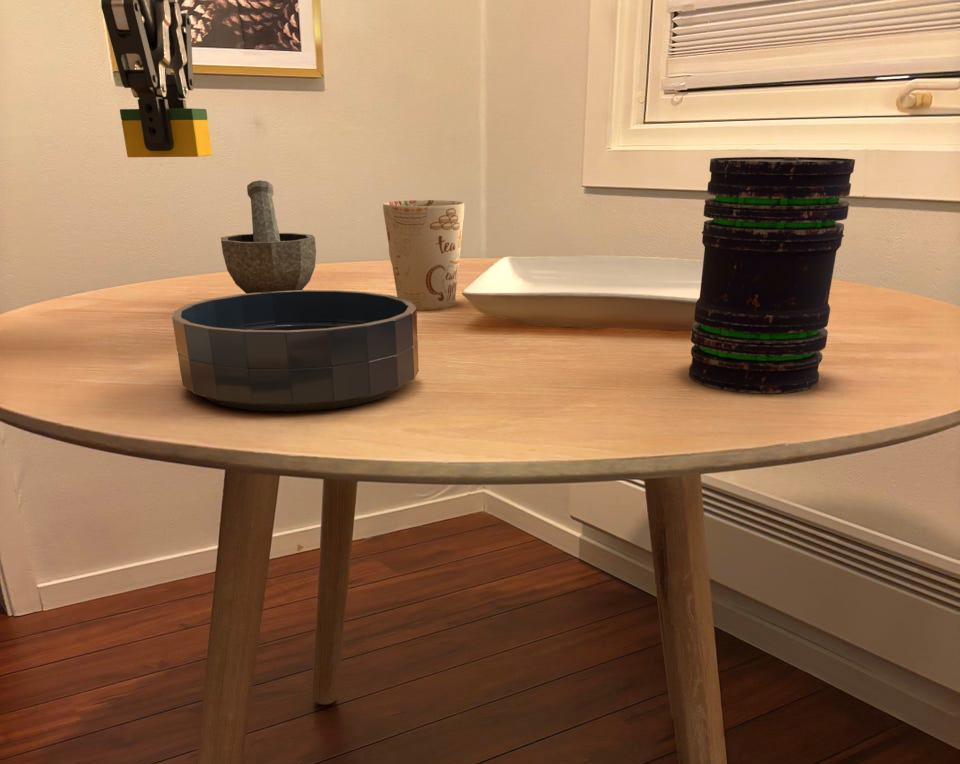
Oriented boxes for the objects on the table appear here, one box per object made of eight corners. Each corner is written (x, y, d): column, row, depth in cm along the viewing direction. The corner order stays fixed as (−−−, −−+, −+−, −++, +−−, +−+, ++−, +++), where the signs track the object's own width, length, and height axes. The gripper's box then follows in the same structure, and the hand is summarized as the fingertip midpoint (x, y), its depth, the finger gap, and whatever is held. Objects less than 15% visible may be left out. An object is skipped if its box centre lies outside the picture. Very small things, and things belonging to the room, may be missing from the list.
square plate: (459, 331, 89) (458, 288, 87) (504, 287, 112) (504, 252, 110) (756, 341, 84) (762, 295, 82) (738, 292, 108) (742, 256, 106)
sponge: (127, 157, 79) (119, 109, 77) (144, 155, 82) (137, 109, 80) (198, 156, 78) (191, 108, 77) (212, 155, 82) (206, 109, 80)
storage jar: (803, 400, 66) (841, 162, 59) (669, 384, 71) (690, 160, 64) (831, 371, 74) (868, 157, 67) (709, 358, 78) (731, 156, 71)
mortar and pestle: (324, 313, 98) (313, 184, 92) (231, 317, 95) (214, 186, 90) (312, 296, 107) (302, 178, 101) (228, 300, 105) (213, 180, 99)
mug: (412, 314, 96) (408, 207, 92) (356, 298, 106) (350, 200, 101) (480, 306, 100) (480, 203, 96) (420, 291, 110) (417, 196, 105)
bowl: (148, 414, 64) (134, 330, 61) (225, 358, 79) (216, 289, 76) (401, 418, 63) (397, 333, 60) (429, 360, 78) (427, 290, 75)
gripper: (118, -86, 78) (155, 148, 86) (40, -125, 66) (91, 153, 74) (208, -88, 78) (236, 147, 86) (146, -128, 65) (186, 152, 73)
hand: (169, 148), depth 80 cm, fingers closed on sponge, 4 cm apart
